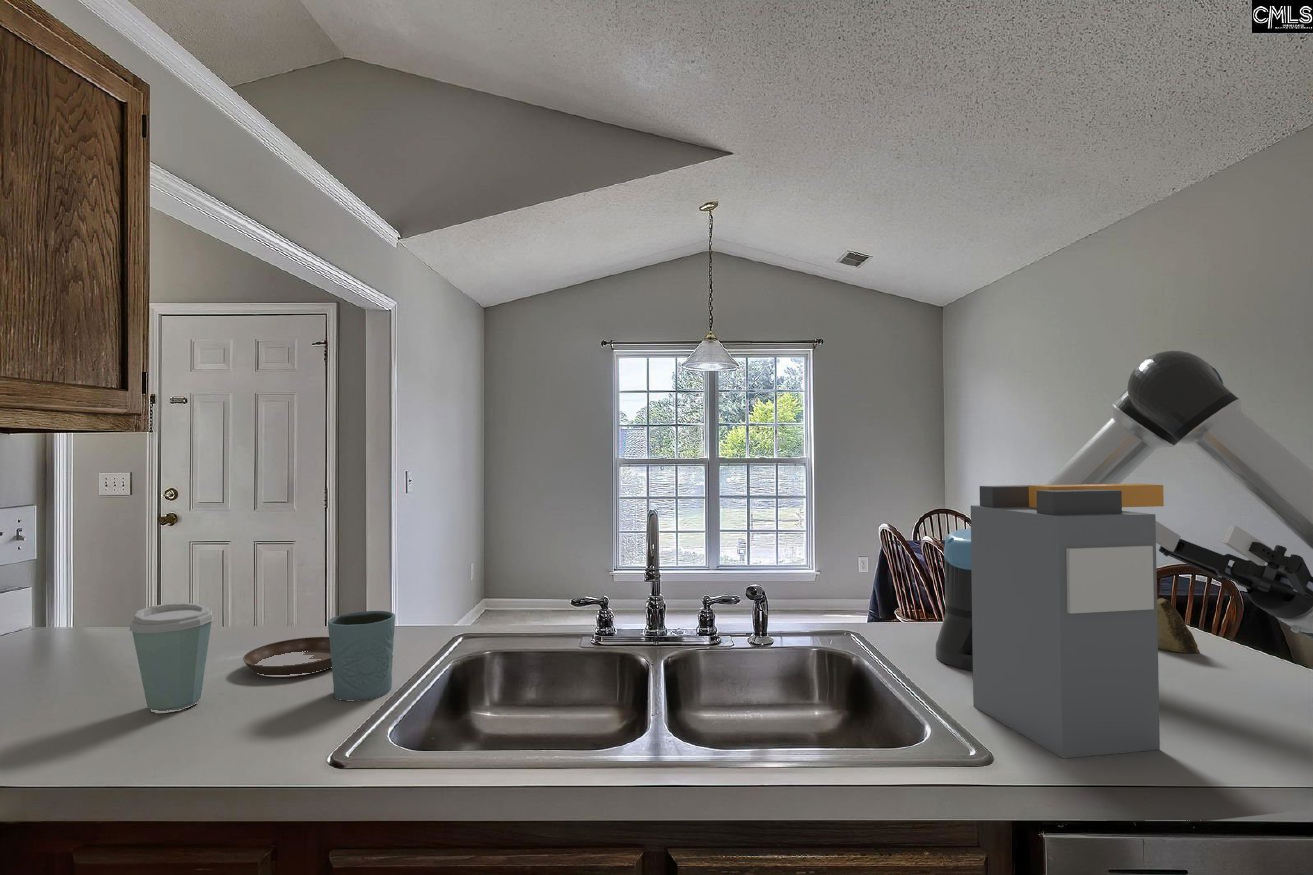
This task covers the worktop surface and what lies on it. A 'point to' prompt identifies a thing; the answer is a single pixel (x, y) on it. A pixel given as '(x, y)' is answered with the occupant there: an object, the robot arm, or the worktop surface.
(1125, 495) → the handle
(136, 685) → the worktop surface
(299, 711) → the worktop surface
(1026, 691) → the breaker panel
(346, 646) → the teal embossed cup
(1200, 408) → the robot arm
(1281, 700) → the worktop surface
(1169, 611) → the rock
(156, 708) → the disposable coffee cup
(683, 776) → the worktop surface
